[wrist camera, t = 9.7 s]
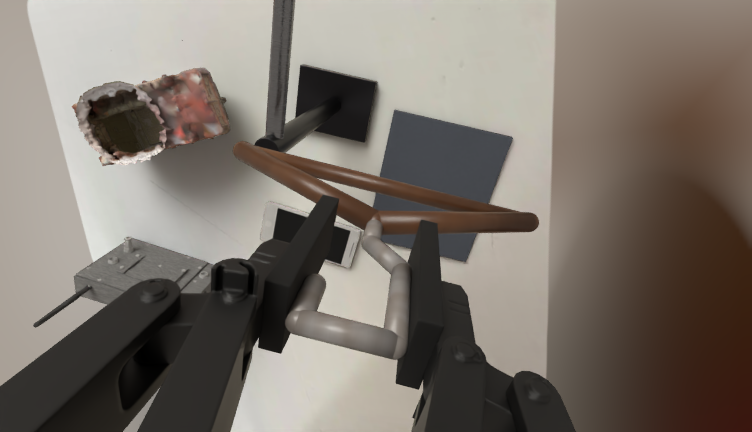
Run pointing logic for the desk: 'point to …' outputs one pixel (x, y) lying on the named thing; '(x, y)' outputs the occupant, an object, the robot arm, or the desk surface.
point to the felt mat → (440, 170)
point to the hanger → (373, 242)
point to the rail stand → (311, 94)
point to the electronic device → (136, 273)
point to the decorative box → (151, 115)
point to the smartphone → (288, 221)
